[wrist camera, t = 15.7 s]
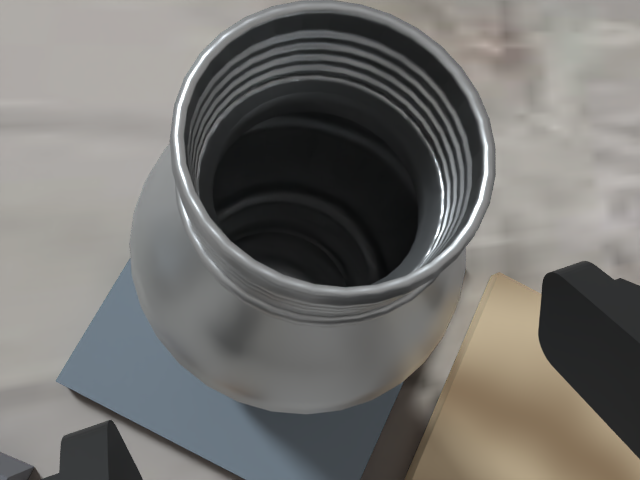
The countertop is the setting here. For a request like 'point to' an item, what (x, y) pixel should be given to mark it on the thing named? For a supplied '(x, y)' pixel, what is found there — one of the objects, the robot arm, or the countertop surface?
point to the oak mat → (514, 407)
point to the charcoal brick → (13, 468)
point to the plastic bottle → (313, 207)
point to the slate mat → (213, 404)
